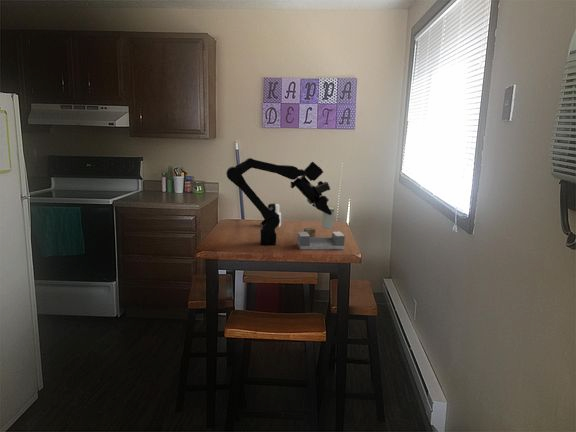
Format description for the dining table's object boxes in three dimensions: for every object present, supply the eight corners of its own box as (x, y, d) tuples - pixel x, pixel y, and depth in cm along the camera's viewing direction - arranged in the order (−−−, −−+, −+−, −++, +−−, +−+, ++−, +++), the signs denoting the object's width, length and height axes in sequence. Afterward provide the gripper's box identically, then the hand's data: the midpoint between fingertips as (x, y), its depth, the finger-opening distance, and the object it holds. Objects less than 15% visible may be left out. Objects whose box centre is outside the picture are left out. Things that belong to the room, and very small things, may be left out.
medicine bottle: (265, 227, 230) (265, 204, 228) (267, 224, 237) (268, 202, 235) (279, 228, 229) (279, 205, 227) (281, 225, 236) (281, 203, 234)
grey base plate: (300, 249, 186) (300, 242, 185) (296, 243, 196) (297, 237, 195) (344, 249, 188) (344, 242, 188) (338, 243, 198) (339, 237, 197)
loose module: (324, 228, 196) (325, 208, 194) (321, 226, 200) (322, 207, 199) (333, 228, 196) (334, 208, 195) (330, 226, 201) (331, 207, 199)
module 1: (300, 245, 186) (300, 235, 185) (297, 241, 194) (297, 231, 193) (309, 245, 186) (309, 235, 186) (306, 241, 194) (306, 231, 194)
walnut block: (307, 238, 208) (307, 229, 207) (303, 236, 211) (303, 228, 210) (315, 237, 209) (315, 229, 209) (311, 235, 213) (311, 227, 212)
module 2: (335, 245, 188) (336, 235, 187) (331, 241, 196) (332, 231, 195) (344, 245, 188) (344, 235, 188) (339, 241, 196) (340, 231, 195)
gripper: (325, 177, 184) (348, 204, 188) (315, 173, 203) (337, 198, 206) (305, 196, 184) (330, 222, 188) (297, 190, 203) (319, 214, 206)
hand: (329, 213), depth 197 cm, fingers closed on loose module, 5 cm apart
